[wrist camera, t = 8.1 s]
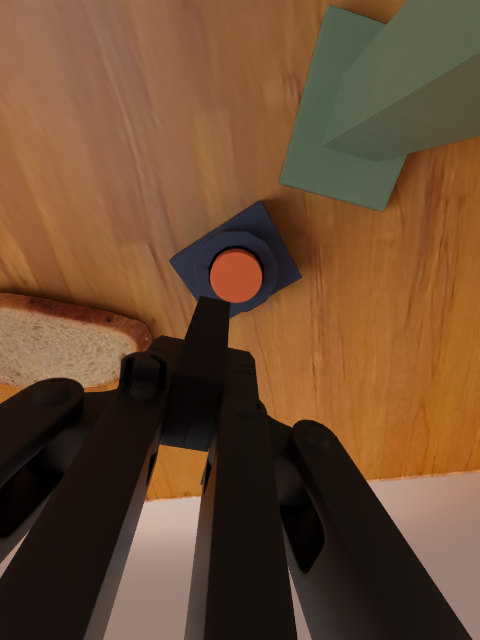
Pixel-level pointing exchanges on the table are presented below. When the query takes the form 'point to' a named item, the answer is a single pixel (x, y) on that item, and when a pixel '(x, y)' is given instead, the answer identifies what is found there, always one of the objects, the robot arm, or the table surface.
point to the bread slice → (64, 341)
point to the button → (236, 275)
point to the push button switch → (243, 233)
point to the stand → (384, 97)
